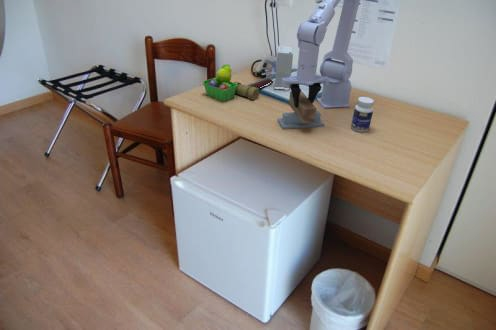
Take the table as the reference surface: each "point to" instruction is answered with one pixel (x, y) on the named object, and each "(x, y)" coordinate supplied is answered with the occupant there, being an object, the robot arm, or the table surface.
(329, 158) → the table surface
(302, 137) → the table surface
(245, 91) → the gavel
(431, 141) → the table surface
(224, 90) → the fruit basket
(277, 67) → the skincare box
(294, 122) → the fulcrum
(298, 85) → the robot arm
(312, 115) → the walnut bar
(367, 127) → the pill bottle
